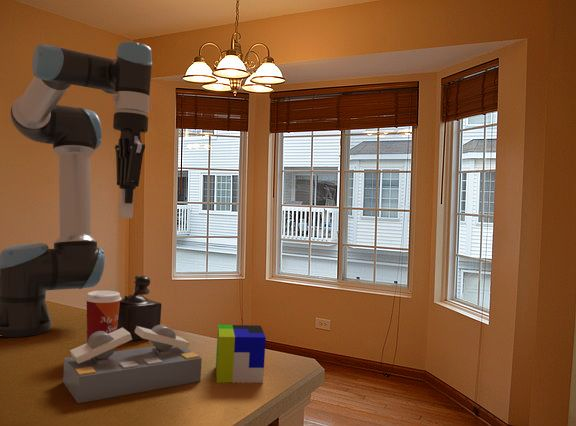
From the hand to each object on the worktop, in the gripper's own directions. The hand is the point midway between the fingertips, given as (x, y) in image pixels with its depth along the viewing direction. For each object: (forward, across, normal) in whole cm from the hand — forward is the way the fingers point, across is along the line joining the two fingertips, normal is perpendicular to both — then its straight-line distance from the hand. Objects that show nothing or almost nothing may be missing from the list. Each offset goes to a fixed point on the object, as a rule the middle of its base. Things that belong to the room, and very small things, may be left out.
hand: (125, 217), depth 115 cm
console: (+34, +12, -1) cm, 36 cm away
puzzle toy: (+34, +19, +21) cm, 44 cm away
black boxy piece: (+34, -19, +12) cm, 41 cm away
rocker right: (+28, +11, +5) cm, 30 cm away
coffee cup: (+34, -8, -2) cm, 35 cm away
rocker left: (+28, +11, -6) cm, 30 cm away
